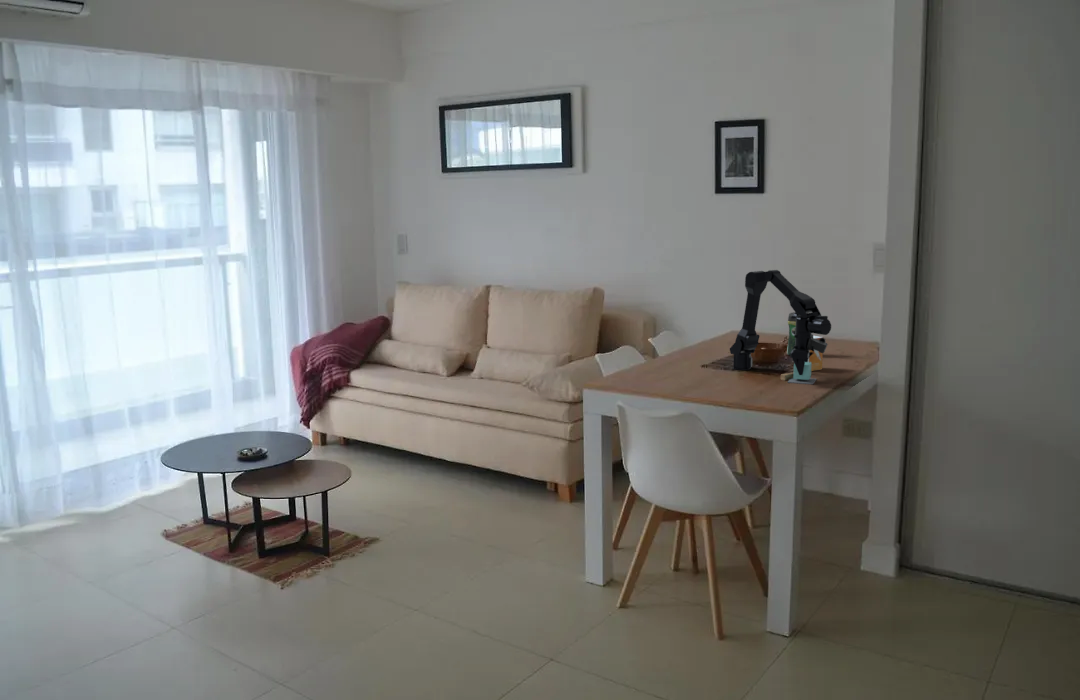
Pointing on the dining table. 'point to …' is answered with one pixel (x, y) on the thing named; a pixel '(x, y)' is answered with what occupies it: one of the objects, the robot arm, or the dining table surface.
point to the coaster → (802, 381)
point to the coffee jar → (791, 333)
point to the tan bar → (787, 376)
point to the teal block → (806, 372)
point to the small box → (816, 358)
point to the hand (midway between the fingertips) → (802, 373)
